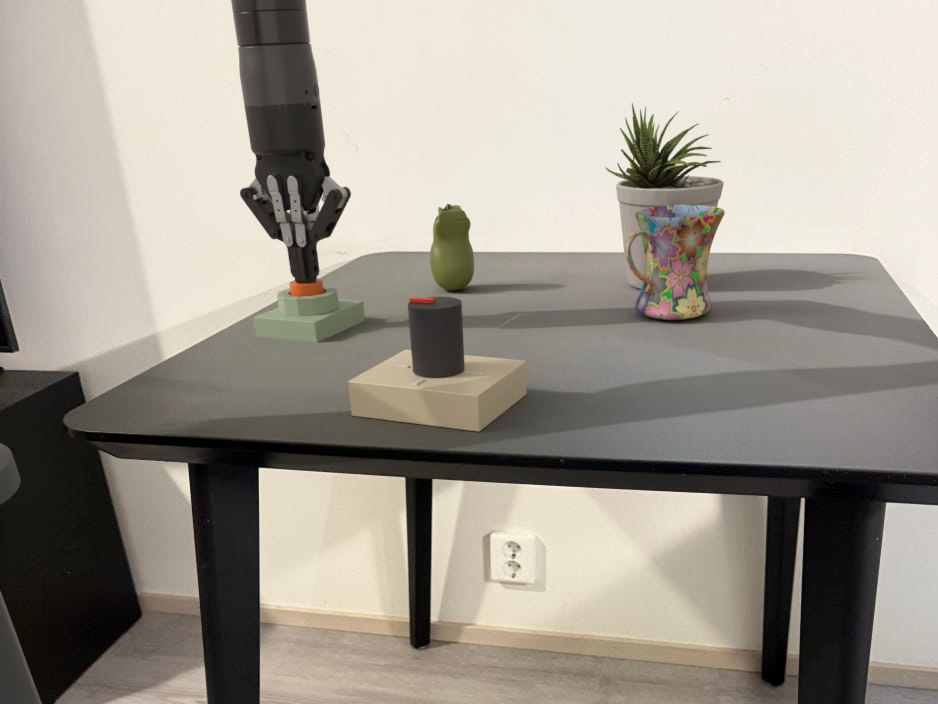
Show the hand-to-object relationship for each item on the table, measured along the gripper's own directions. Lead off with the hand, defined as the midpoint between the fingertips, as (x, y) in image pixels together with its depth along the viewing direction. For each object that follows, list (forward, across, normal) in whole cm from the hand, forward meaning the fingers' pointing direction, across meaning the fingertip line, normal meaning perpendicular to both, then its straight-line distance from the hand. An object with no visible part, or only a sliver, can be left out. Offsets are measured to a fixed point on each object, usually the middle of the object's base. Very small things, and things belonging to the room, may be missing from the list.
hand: (306, 281), depth 101 cm
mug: (+5, +36, +16) cm, 40 cm away
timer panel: (+5, +26, -19) cm, 33 cm away
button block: (+5, 0, 0) cm, 5 cm away
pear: (+5, +7, +22) cm, 24 cm away
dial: (+2, +26, -19) cm, 32 cm away
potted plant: (+5, +31, +32) cm, 45 cm away
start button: (+2, 0, 0) cm, 2 cm away
